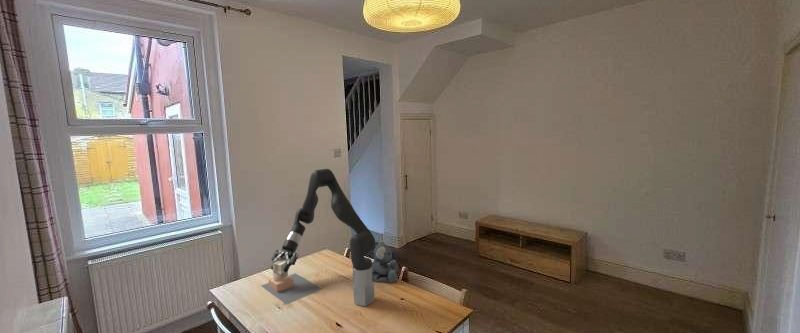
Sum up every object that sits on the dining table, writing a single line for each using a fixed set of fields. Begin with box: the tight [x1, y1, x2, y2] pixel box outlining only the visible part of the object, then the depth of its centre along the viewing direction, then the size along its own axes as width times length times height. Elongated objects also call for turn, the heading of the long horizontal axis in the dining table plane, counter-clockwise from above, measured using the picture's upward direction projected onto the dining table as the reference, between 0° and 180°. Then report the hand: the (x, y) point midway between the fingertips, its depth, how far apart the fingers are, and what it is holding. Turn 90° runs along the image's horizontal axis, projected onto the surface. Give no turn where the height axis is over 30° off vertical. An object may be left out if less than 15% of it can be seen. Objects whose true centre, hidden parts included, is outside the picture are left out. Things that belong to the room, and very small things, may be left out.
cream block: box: [272, 260, 289, 282], centre depth 166 cm, size 5×5×9 cm
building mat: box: [260, 273, 323, 305], centre depth 166 cm, size 28×20×1 cm
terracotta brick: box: [268, 275, 294, 292], centre depth 167 cm, size 9×9×4 cm
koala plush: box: [372, 240, 399, 283], centre depth 177 cm, size 17×18×20 cm
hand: (278, 270), depth 165 cm, fingers open, 8 cm apart
